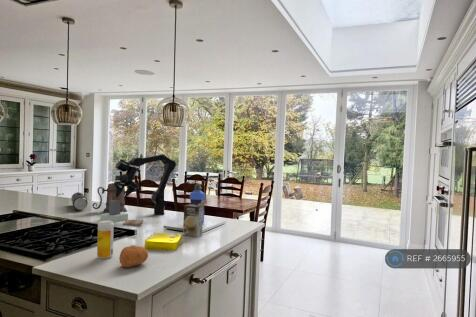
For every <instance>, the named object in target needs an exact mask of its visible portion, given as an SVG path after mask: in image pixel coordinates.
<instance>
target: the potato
mask: <svg viewBox="0 0 476 317" xmlns="http://www.w3.org/2000/svg"><path fill="white" fill-rule="evenodd" d="M148 258H149V252H148V250H147V249H145V247H143V246H138V245H134V244H133V245H132V244H131V245H129V246H124V247H123V248H122V249H121V251H120V255H119V258H118V260H119V264H120V265H122V267H124V268H132V267H135V266H137V265H140V264H143V263H145V262H146V260H147V259H148Z"/></svg>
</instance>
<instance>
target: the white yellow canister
mask: <svg viewBox="0 0 476 317" xmlns="http://www.w3.org/2000/svg"><path fill="white" fill-rule="evenodd" d="M114 223H115V222H113V221H111V220H103V221H102V220H100V221H98V223H97V250H96V254H97V255H96V257H98V259H99V260H108V259H112V257H113V255H114V227H115V226H114Z"/></svg>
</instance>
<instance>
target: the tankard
mask: <svg viewBox="0 0 476 317" xmlns="http://www.w3.org/2000/svg"><path fill="white" fill-rule="evenodd" d="M107 184H108V185H107V187H106V189H105V188H104V187H103V186H99V187H98V188H97V189H96V190H97V194H98V195H99V199H100V200H99V204H98V203H96V202H93V203H92V208H93V209H94V210H98V209H100V208H101V206H102V203H103V199H102V198H103V197H102V195H103V194H105V192H106V200H105V208H104V209H103V211H102V214H106V213H109V201H111V200H120V212H121V213H127V212H128V210H127V208H126V207H125V205H126V202H125V187H124V188H123V190H122V192H121V193H120V194H119V196H118V197H116V187H115V186H114V185H113V184H114V182H111V183H107ZM100 189H101V190H102V192H100ZM101 194H102V195H101Z"/></svg>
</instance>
